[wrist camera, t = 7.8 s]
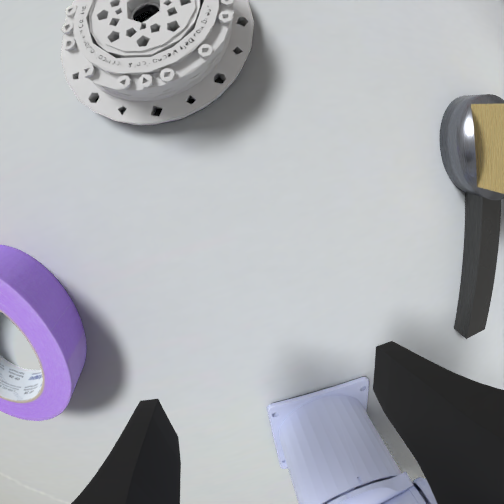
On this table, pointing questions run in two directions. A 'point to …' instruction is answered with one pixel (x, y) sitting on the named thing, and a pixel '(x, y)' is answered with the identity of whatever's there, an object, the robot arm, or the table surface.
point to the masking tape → (39, 338)
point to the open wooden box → (489, 145)
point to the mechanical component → (153, 55)
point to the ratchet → (472, 213)
